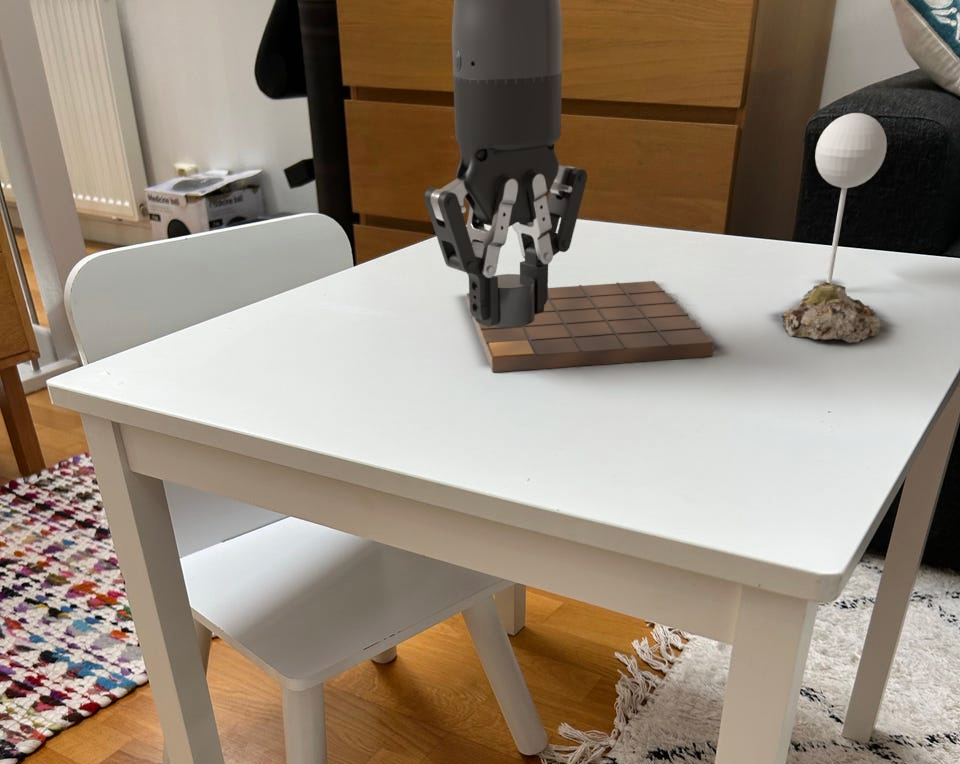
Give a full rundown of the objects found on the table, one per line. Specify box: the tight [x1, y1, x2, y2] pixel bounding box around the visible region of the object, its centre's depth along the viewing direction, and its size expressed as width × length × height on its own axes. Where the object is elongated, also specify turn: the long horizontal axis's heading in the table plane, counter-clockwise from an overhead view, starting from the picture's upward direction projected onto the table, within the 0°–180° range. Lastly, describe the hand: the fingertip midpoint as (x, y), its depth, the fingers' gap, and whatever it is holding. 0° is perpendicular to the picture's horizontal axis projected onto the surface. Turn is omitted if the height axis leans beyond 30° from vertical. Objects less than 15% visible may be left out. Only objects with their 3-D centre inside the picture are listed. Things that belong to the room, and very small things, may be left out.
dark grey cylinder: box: [494, 273, 535, 327], centre depth 77 cm, size 4×4×3 cm
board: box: [466, 280, 714, 373], centre depth 86 cm, size 18×18×1 cm
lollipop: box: [814, 112, 888, 284], centre depth 89 cm, size 6×6×15 cm
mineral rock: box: [781, 281, 884, 344], centre depth 85 cm, size 11×4×8 cm
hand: (509, 316), depth 78 cm, fingers closed on dark grey cylinder, 4 cm apart
